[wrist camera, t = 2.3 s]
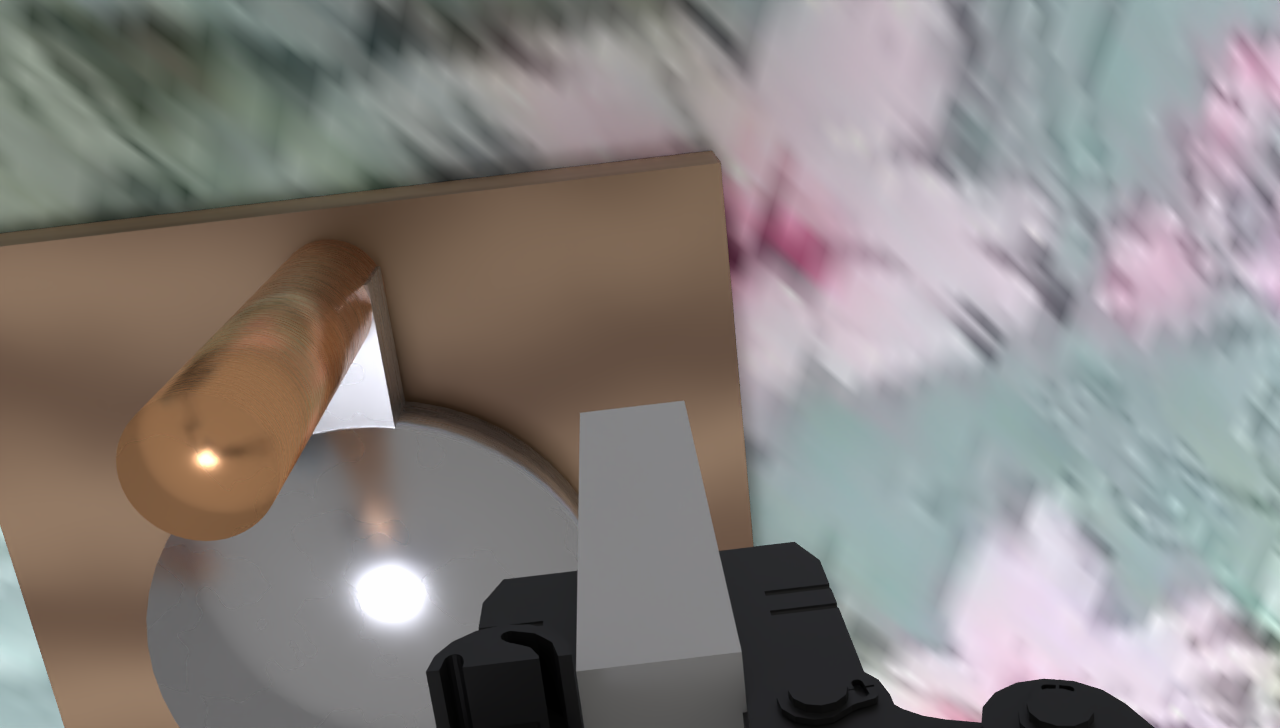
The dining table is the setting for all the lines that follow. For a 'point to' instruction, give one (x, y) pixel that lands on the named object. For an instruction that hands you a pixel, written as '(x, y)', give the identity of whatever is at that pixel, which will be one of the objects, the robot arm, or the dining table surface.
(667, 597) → the robot arm
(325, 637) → the cam disc
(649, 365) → the board
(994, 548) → the dining table surface
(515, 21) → the dining table surface
